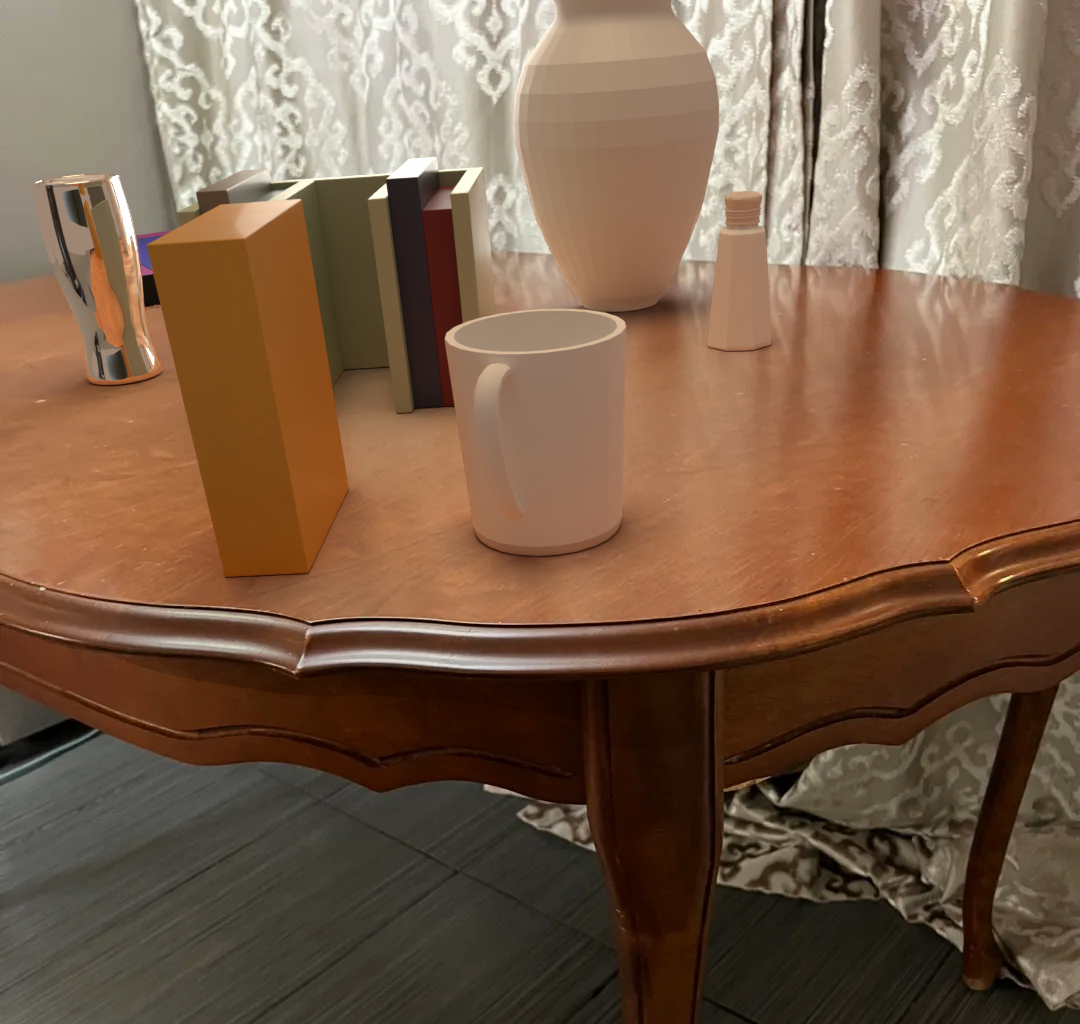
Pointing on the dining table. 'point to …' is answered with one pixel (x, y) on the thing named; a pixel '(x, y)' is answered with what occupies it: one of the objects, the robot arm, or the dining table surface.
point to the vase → (616, 145)
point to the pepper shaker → (741, 279)
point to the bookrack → (387, 265)
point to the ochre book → (254, 381)
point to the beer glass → (98, 272)
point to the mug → (541, 426)
